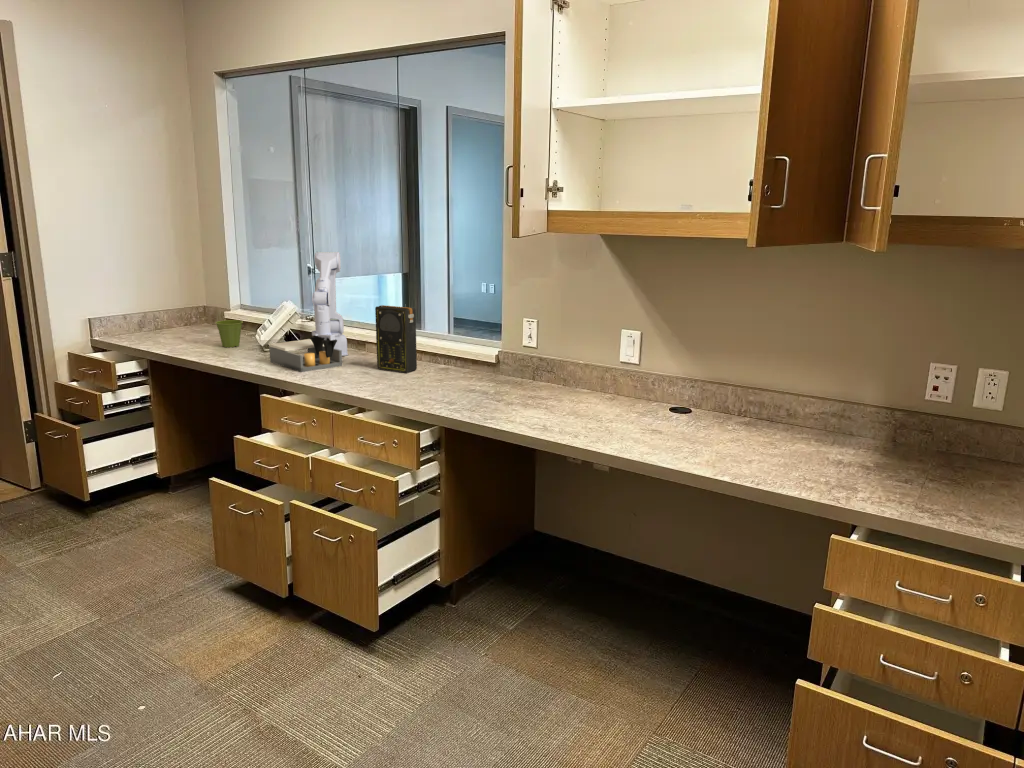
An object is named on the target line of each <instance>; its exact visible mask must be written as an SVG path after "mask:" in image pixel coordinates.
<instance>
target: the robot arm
mask: <svg viewBox="0 0 1024 768" xmlns="http://www.w3.org/2000/svg"><path fill="white" fill-rule="evenodd" d="M314 264H315V267H316V269H317V271H318V272H319V277H318V278H317V279H316V281H315V289H314V292H312V293H311V294H312V295H311V297H312V298H311V300H312V305H313V311H314V326H315V330H312V331H311V336H312V337H310V338H309V339H311V341H312V342H313V344H314V347H315V350H316V353H317V355H319V352H320V351H323V344H324V347H325V352H326V357H327V358H328V357H332V354H333V350H334V349H338V350H342V357H343V356H349V353H348V340H347V336H346V335H345V334H344V330H345V329H344V327H345V326H344V318H343V316H342V315H341V314H340V313H338V312H337V296H336V295H337V292H336V291H337V290H336V277H337V274H338V273H339V272H341V267H342V266H341V253H340V252H339V251H334V252H333V251H332V252H331V251H329V252H328V251H327V252H326V251H322V252H321V251H320V252H319V251H316V252H315V253H314Z"/></svg>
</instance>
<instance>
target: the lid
mask: <svg viewBox="0 0 1024 768" xmlns="http://www.w3.org/2000/svg"><path fill="white" fill-rule="evenodd" d="M323 346H324V344H323ZM268 347H273V348H276V349H280V350H283V351H288V352H291V351H296V350H297V351H298V350H307V349H308V348H314V344H313V342H312V341H311V339H310V338H307V339H301V340H300V339H298V340H291V341H284V342H282V341H281V342H274V343H268Z"/></svg>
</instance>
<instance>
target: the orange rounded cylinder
mask: <svg viewBox="0 0 1024 768" xmlns="http://www.w3.org/2000/svg"><path fill="white" fill-rule="evenodd" d="M303 358H304V359H303V360H305V366H306V367H310V366H315V353H308V352H305V353H303Z"/></svg>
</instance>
